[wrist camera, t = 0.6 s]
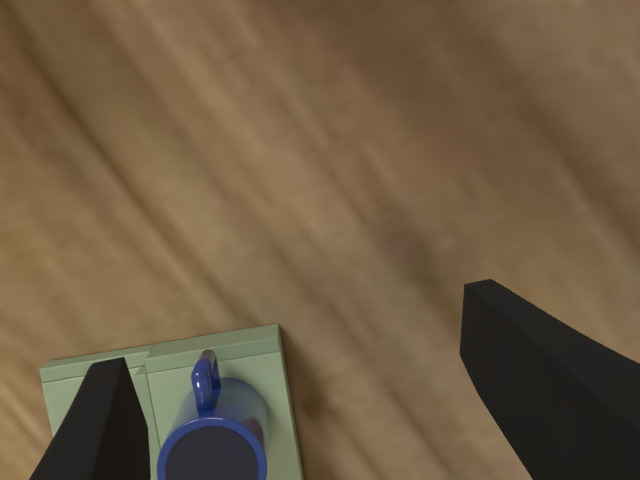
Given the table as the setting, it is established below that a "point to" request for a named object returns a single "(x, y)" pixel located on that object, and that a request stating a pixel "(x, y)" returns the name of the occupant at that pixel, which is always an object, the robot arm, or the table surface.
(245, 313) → the table surface
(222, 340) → the step rack
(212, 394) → the jug
